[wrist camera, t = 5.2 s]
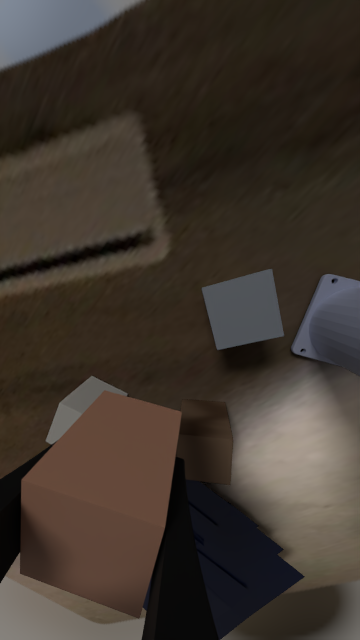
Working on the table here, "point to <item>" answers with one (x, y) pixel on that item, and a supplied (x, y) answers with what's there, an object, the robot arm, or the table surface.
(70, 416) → the offwhite cube
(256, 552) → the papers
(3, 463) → the table surface
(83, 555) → the terracotta cube
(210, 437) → the walnut cube
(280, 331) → the slate cube
